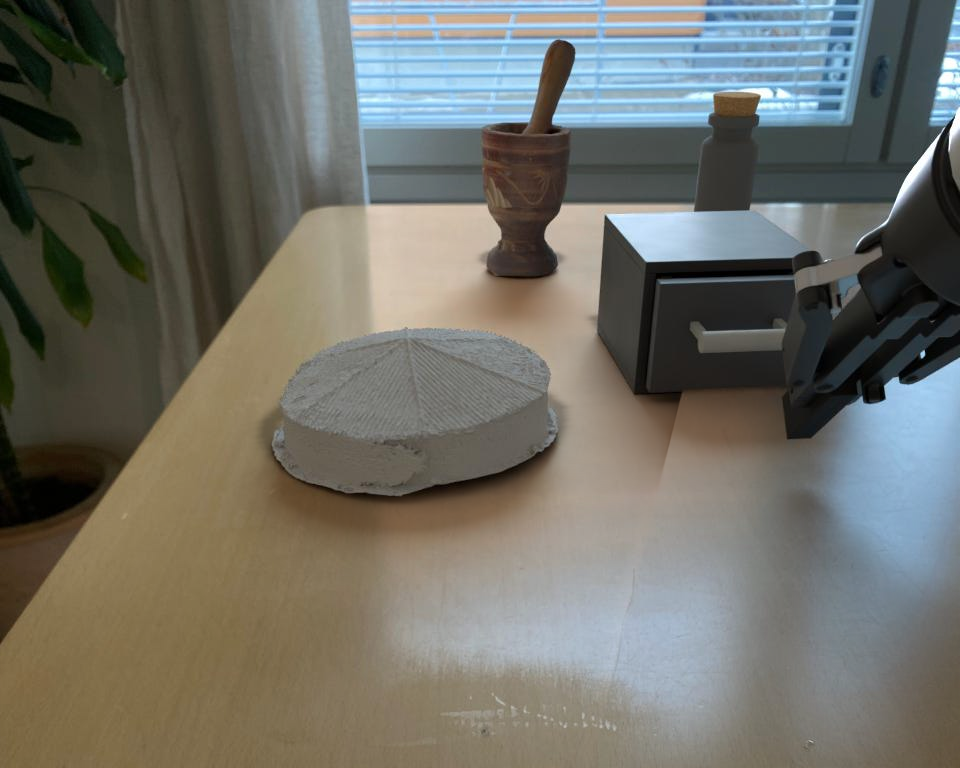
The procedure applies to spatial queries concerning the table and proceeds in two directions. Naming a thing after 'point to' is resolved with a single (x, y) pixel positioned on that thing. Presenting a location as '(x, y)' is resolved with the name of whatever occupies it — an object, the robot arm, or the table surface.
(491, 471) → the grey round squat piece
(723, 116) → the bottle
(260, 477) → the table surface
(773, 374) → the drawer
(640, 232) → the cabinet
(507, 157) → the mortar and pestle
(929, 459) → the table surface
